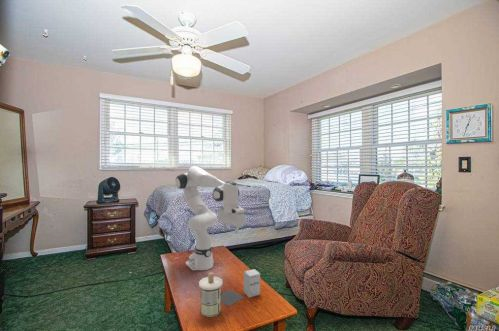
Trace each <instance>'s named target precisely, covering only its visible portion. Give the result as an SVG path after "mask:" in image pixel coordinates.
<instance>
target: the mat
mask: <svg viewBox="0 0 499 331" xmlns="http://www.w3.org/2000/svg"><path fill="white" fill-rule="evenodd" d="M244 298H245V296H244V295H242V294H239V293H238V292H236V291H234V290H232V289H229V290H227V291H224V292H221V302H222V303H223V304H224V305H226V306H228V307H230V306H232V305H234V304H235V303H237V302H240V301H241V300H242V299H244Z"/></svg>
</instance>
